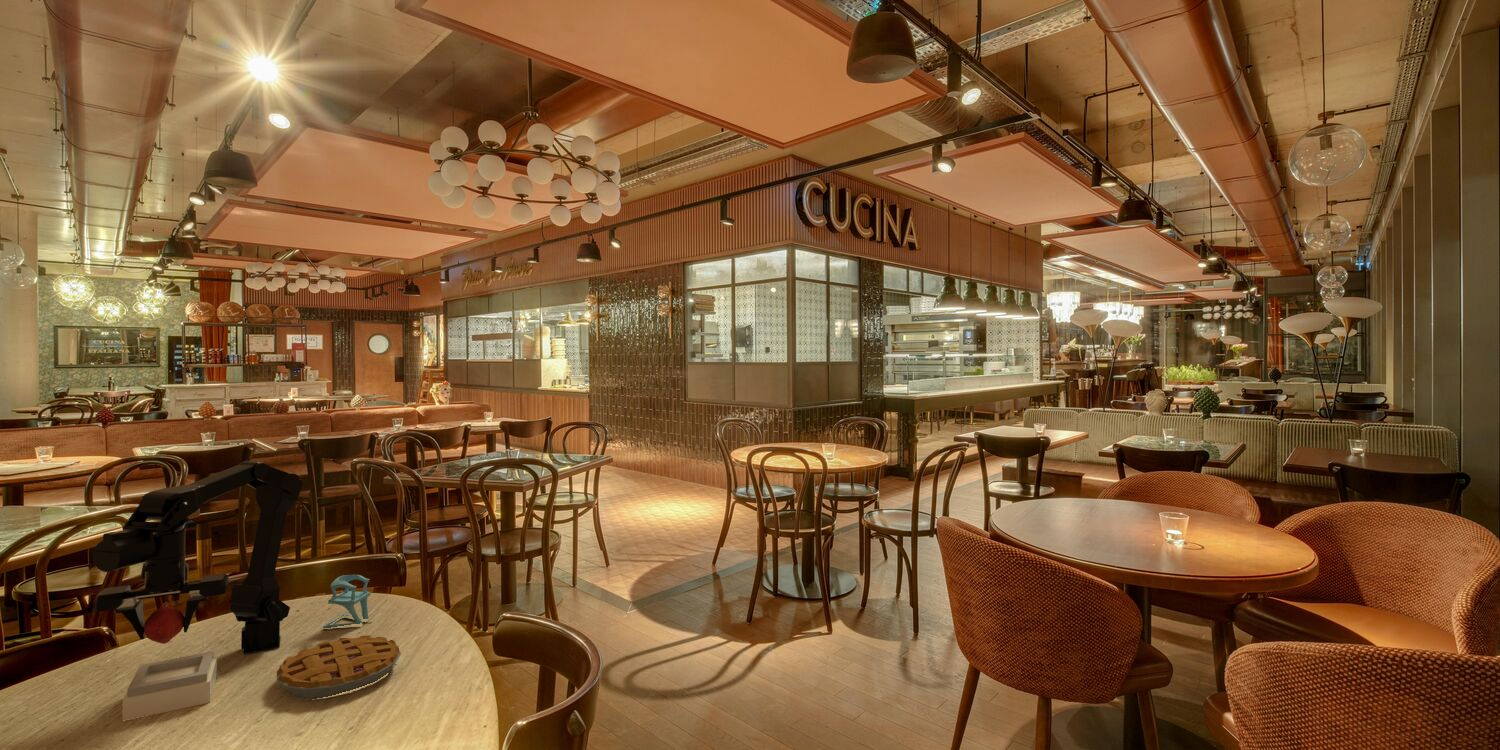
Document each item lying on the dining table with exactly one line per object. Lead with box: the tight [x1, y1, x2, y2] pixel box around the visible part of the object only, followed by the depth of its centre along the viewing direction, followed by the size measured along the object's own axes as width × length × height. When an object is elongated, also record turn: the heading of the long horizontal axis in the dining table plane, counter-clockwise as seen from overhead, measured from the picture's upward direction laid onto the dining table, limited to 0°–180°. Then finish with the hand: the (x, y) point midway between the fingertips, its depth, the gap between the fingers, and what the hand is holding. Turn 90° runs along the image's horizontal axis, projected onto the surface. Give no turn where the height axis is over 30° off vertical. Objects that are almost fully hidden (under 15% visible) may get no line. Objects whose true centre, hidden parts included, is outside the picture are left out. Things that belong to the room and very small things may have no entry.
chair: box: [322, 574, 371, 629], centre depth 157 cm, size 8×8×12 cm
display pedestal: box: [122, 651, 218, 721], centre depth 122 cm, size 12×12×6 cm
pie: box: [276, 634, 402, 701], centre depth 132 cm, size 22×22×5 cm
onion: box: [144, 601, 185, 644], centre depth 123 cm, size 6×6×8 cm
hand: (164, 635), depth 123 cm, fingers closed on onion, 6 cm apart
